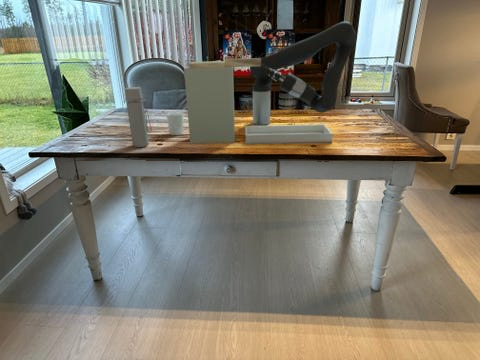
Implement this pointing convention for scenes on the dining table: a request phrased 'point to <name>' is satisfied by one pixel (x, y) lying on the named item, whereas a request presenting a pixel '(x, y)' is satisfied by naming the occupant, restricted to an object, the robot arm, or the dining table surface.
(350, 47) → the robot arm
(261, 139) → the tray
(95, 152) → the dining table surface
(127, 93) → the water bottle
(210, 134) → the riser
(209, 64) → the beige long bar
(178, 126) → the white cup
